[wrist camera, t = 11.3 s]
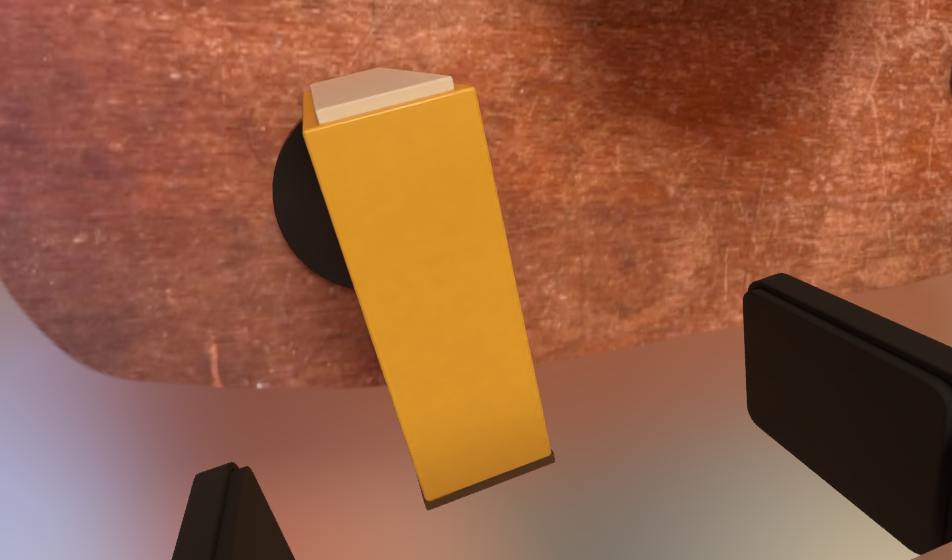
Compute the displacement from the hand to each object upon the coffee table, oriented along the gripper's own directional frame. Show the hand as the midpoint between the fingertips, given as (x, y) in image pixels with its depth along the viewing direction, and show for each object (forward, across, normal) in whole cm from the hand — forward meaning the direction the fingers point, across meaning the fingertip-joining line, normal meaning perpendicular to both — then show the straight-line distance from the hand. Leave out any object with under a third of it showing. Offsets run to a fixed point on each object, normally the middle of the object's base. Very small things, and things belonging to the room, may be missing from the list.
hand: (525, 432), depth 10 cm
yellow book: (+20, 0, 0) cm, 20 cm away
